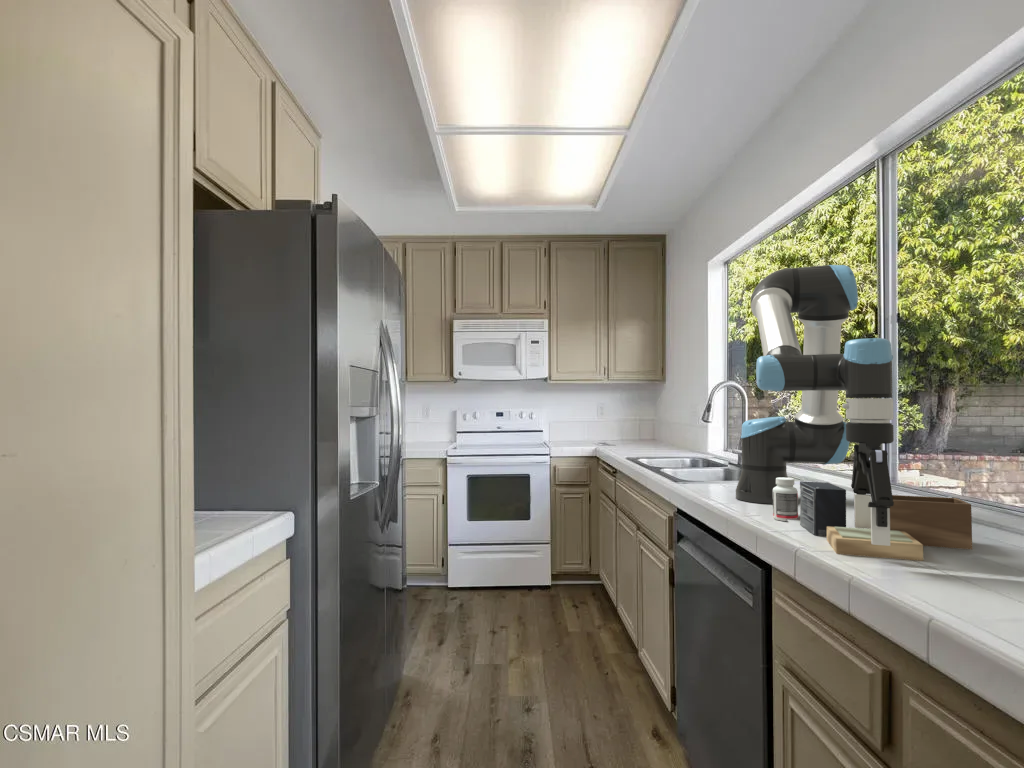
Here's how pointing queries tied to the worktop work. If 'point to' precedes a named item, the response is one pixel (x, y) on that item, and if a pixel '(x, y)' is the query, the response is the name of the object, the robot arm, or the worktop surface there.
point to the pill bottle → (785, 499)
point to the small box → (821, 507)
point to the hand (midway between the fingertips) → (871, 536)
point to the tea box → (933, 520)
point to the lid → (860, 545)
